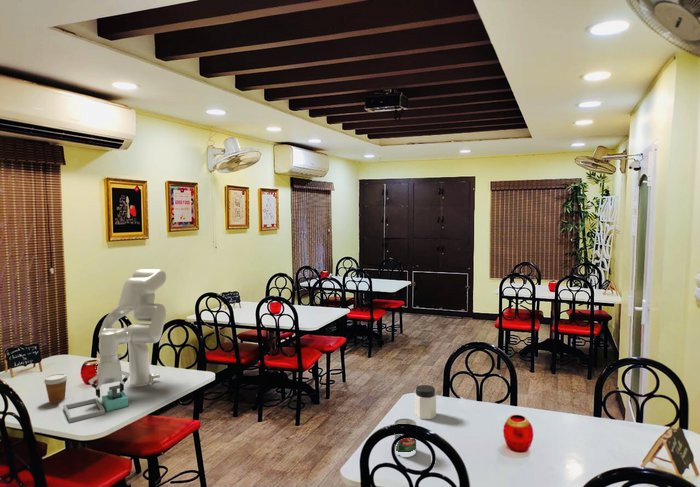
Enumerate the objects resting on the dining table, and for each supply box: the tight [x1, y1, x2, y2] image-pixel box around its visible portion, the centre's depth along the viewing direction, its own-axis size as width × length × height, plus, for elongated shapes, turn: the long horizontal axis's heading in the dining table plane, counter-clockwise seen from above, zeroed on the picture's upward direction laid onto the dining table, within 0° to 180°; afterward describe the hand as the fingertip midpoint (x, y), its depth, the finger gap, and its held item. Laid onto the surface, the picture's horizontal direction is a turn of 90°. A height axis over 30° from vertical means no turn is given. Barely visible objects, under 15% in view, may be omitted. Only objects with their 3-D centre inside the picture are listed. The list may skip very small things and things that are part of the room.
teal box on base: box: [101, 390, 129, 412], centre depth 227 cm, size 9×14×4 cm, turn 37°
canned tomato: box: [394, 418, 417, 452], centre depth 181 cm, size 8×8×11 cm
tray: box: [63, 397, 106, 424], centre depth 218 cm, size 14×18×3 cm
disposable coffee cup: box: [43, 373, 68, 405], centre depth 233 cm, size 10×10×12 cm
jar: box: [414, 384, 437, 420], centre depth 211 cm, size 9×8×12 cm
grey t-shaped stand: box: [103, 384, 121, 411], centre depth 225 cm, size 10×10×10 cm
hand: (110, 394), depth 230 cm, fingers open, 9 cm apart
